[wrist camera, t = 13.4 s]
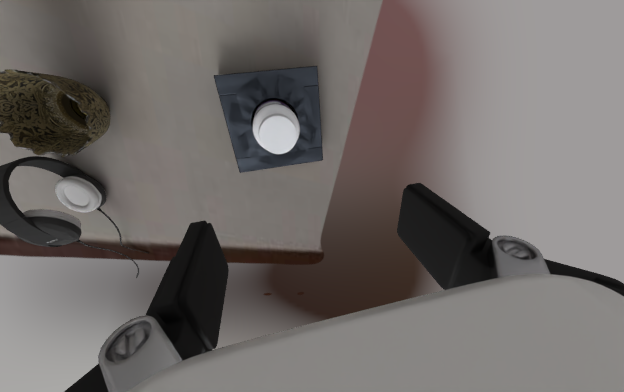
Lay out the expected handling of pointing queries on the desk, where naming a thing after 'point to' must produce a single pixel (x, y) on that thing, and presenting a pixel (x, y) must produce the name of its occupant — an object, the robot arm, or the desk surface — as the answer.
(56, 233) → the headphones
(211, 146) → the desk surface
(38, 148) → the green rounded lump
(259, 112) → the pill bottle
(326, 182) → the desk surface
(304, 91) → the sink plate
